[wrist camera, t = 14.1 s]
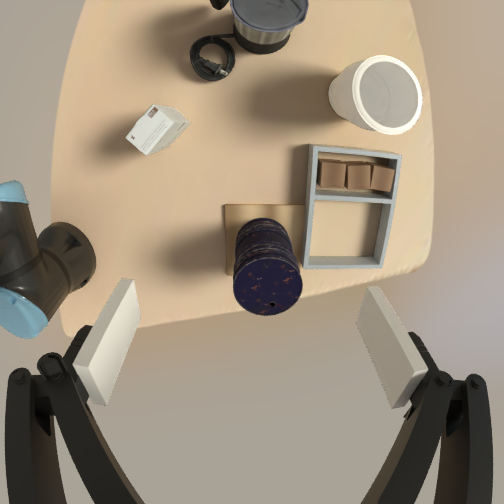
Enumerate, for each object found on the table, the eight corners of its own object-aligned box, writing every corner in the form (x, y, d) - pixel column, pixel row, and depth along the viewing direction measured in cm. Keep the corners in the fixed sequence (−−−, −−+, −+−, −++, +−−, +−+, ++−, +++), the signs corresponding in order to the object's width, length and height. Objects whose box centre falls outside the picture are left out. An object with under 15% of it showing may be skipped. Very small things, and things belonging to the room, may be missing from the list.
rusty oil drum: (228, 224, 53) (222, 266, 39) (282, 210, 52) (296, 248, 38) (243, 271, 57) (243, 322, 44) (294, 259, 56) (308, 307, 43)
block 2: (341, 183, 50) (348, 189, 47) (340, 161, 48) (348, 165, 45) (361, 182, 50) (370, 188, 47) (361, 160, 48) (370, 165, 45)
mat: (227, 273, 58) (226, 275, 57) (225, 204, 52) (225, 205, 51) (298, 273, 58) (299, 275, 58) (305, 205, 52) (305, 206, 51)
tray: (300, 260, 57) (303, 269, 54) (309, 143, 47) (313, 146, 44) (375, 260, 57) (382, 268, 54) (393, 152, 47) (401, 155, 44)
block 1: (315, 180, 50) (320, 186, 46) (316, 158, 48) (322, 162, 45) (336, 182, 50) (343, 187, 47) (338, 159, 48) (346, 164, 45)
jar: (381, 124, 45) (427, 133, 32) (327, 129, 46) (358, 137, 32) (373, 67, 40) (417, 56, 27) (316, 69, 41) (345, 54, 28)
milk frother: (297, 17, 37) (317, -16, 23) (270, 97, 43) (280, 90, 30) (214, -4, 35) (203, -41, 21) (186, 76, 41) (162, 63, 28)
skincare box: (168, 148, 47) (146, 160, 36) (149, 131, 45) (122, 139, 34) (192, 121, 45) (176, 124, 34) (173, 104, 43) (151, 103, 33)
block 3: (361, 182, 50) (370, 188, 47) (365, 161, 48) (374, 165, 45) (381, 185, 50) (390, 191, 47) (384, 165, 49) (394, 169, 45)
